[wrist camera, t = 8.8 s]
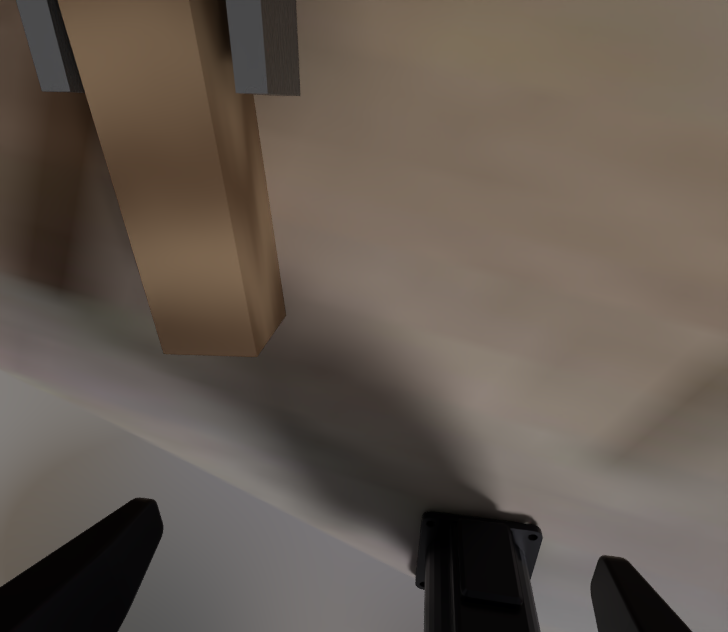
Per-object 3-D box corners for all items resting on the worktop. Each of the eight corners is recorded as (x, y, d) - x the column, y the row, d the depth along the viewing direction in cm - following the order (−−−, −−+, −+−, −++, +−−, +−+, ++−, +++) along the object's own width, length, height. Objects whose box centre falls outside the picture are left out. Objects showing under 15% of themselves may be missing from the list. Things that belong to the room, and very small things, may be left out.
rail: (124, -52, 15) (27, -101, 11) (232, -66, 14) (165, -122, 11) (209, 311, 21) (163, 354, 17) (287, 313, 20) (257, 356, 17)
